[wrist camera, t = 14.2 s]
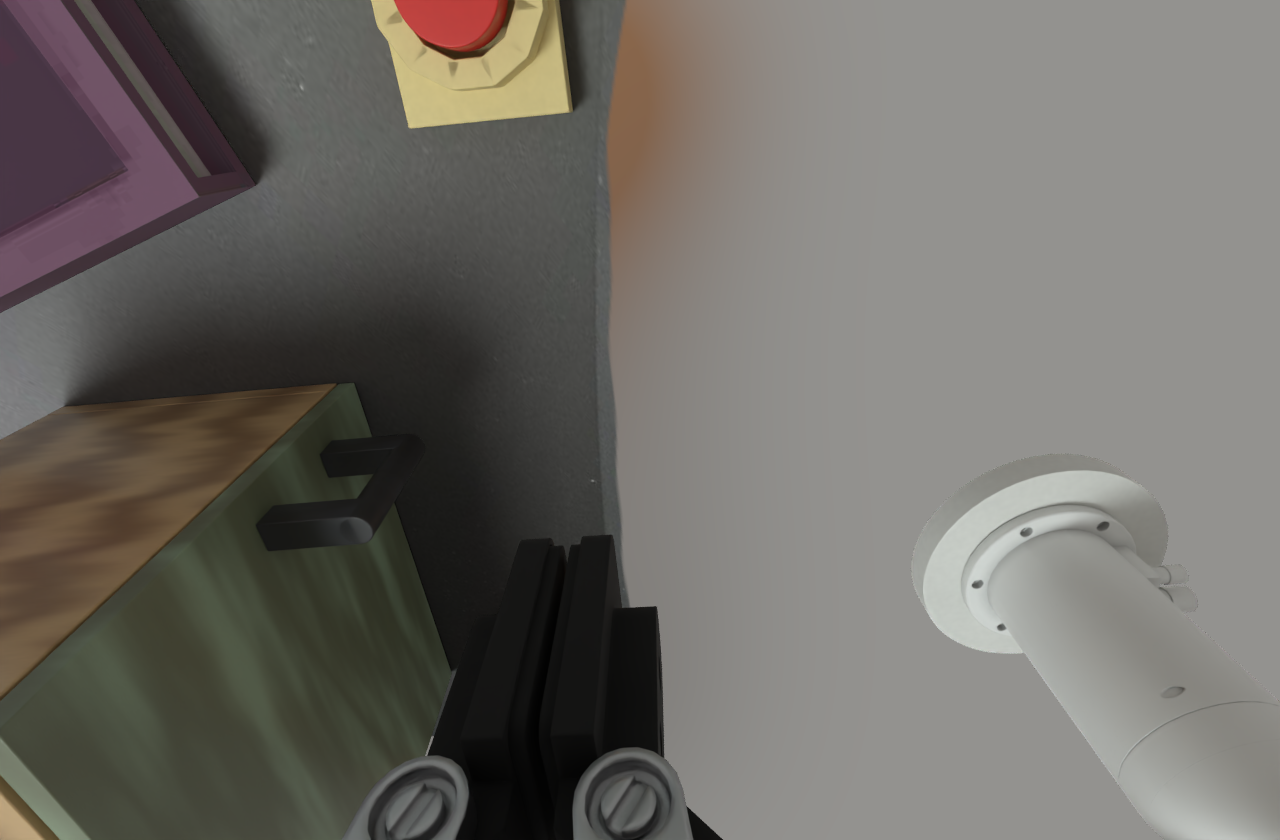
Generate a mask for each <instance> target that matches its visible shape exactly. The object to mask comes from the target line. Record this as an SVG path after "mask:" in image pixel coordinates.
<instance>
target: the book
mask: <svg viewBox="0 0 1280 840" xmlns="http://www.w3.org/2000/svg"><path fill="white" fill-rule="evenodd" d="M254 186H256V185H255V183H254V181H253V180H252V178H251V177H250V175H249V174H248V172H247V171H246V169H245V168H244V166H243V165H242V163H241V162H240V160H239V159H238V157H237V156H236V154H235V153H234V151H233V150H232V148H231V147H230V145H229V144H228V142H227V141H226V139H225V138H224V136H223V135H222V133H221V131H220V130H219V128H218V127H217V125H216V124H215V122H214V121H213V119H212V118H211V116H210V115H209V113H208V112H207V110H206V109H205V107H204V106H203V104H202V103H201V101H200V100H199V98H198V97H197V95H196V94H195V92H194V91H193V89H192V88H191V86H190V85H189V83H188V81H187V80H186V78H185V77H184V75H183V74H182V72H181V71H180V69H179V68H178V66H177V65H176V63H175V62H174V60H173V59H172V57H171V56H170V54H169V53H168V51H167V50H166V48H165V47H164V45H163V44H162V42H161V41H160V39H159V38H158V36H157V35H156V33H155V31H154V30H153V28H152V27H151V25H150V24H149V22H148V21H147V19H146V18H145V16H144V15H143V13H142V12H141V10H140V9H139V7H138V6H137V4H136V3H135V1H134V0H0V313H1V312H3V311H5V310H7V309H9V308H11V307H13V306H15V305H17V304H19V303H21V302H23V301H25V300H27V299H29V298H31V297H33V296H35V295H37V294H39V293H41V292H43V291H45V290H47V289H49V288H51V287H53V286H55V285H57V284H59V283H61V282H63V281H65V280H67V279H69V278H71V277H73V276H75V275H77V274H79V273H81V272H83V271H85V270H87V269H89V268H91V267H93V266H95V265H97V264H99V263H101V262H103V261H105V260H107V259H109V258H111V257H113V256H115V255H117V254H119V253H121V252H123V251H125V250H127V249H129V248H131V247H133V246H135V245H137V244H139V243H141V242H143V241H145V240H147V239H149V238H151V237H153V236H155V235H157V234H159V233H161V232H163V231H165V230H167V229H169V228H171V227H173V226H175V225H177V224H179V223H181V222H183V221H185V220H187V219H189V218H191V217H193V216H195V215H197V214H199V213H201V212H203V211H205V210H207V209H209V208H211V207H213V206H215V205H217V204H219V203H221V202H223V201H226V200H228V199H230V198H232V197H234V196H236V195H238V194H240V193H242V192H244V191H246V190H248V189H250V188H252V187H254Z"/></svg>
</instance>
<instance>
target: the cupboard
mask: <svg viewBox="0 0 1280 840" xmlns="http://www.w3.org/2000/svg"><path fill="white" fill-rule="evenodd" d="M336 386H337V384H336V383H333V384H322V385H310V386H299V387H287V388H275V389H264V390H252V391H241V392H229V393H218V394H206V395H195V396H183V397H171V398H160V399H148V400H137V401H125V402H114V403H102V404H91V405H79V406H67V407H62V408H60V409H58V410H56V411H54V412H52V413H50V414H48V415H47V416H45V417H43V418H41V419H39V420H37V421H35V422H33V423H32V424H30V425H28V426H26V427H24V428H22V429H20V430H18V431H16V432H14V433H12V434H11V435H9V436H7V437H5V438H3V439H1V440H0V701H1V700H2V699H3V698H4V697H5V696H6V695H7V694H8V693H9V692H11V691H12V690H13V689H14V688H15V687H16V686H17V685H18V684H19V683H20V682H21V681H22V680H23V679H24V678H26V677H27V676H28V675H29V674H30V673H31V672H32V671H33V670H34V669H35V668H36V667H37V666H38V665H39V664H40V663H42V662H43V661H44V660H45V659H46V658H47V657H48V656H49V655H50V654H51V653H52V652H53V651H54V650H55V649H56V648H58V647H59V646H60V645H61V644H62V643H63V642H64V641H65V640H66V639H67V638H68V637H69V636H70V635H71V634H72V633H74V632H75V631H76V630H77V629H78V628H79V627H80V626H81V625H82V624H83V623H84V622H85V621H86V620H87V619H89V618H90V617H91V616H92V615H93V614H94V613H95V612H96V611H97V610H98V609H99V608H100V607H101V606H102V605H103V604H105V603H106V602H107V601H108V600H109V599H110V598H111V597H112V596H113V595H114V594H115V593H116V592H117V591H118V590H119V589H121V588H122V587H123V586H124V585H125V584H126V583H127V582H128V581H129V580H130V579H131V578H132V577H133V576H134V575H135V574H137V573H138V572H139V571H140V570H141V569H142V568H143V567H144V566H145V565H146V564H147V563H148V562H149V561H150V560H151V559H153V558H154V557H155V556H156V555H157V554H158V553H159V552H160V551H161V550H162V549H163V548H164V547H165V546H166V545H168V544H169V543H170V542H171V541H172V540H173V539H174V538H175V537H176V536H177V535H178V534H179V533H180V532H181V531H182V530H184V529H185V528H186V527H187V526H188V525H189V524H190V523H191V522H192V521H193V520H194V519H195V518H196V517H197V516H198V515H200V514H201V513H202V512H203V511H204V510H205V509H206V508H207V507H208V506H209V505H210V504H211V503H212V502H213V501H214V500H216V499H217V498H218V497H219V496H220V495H221V494H222V493H223V492H224V491H225V490H226V489H227V488H228V487H229V486H231V485H232V484H233V483H234V482H235V481H236V480H237V479H238V478H239V477H240V476H241V475H242V474H243V473H244V472H245V471H247V470H248V469H249V468H250V467H251V466H252V465H253V464H254V463H255V462H256V461H257V460H258V459H259V458H260V457H261V456H263V455H264V454H265V453H266V452H267V451H268V450H269V449H270V448H271V447H272V446H273V445H274V444H275V443H276V442H277V441H279V440H280V439H281V438H282V437H283V436H284V435H285V434H286V433H287V432H288V431H289V430H290V429H291V428H292V427H294V426H295V425H296V424H297V423H298V422H299V421H300V420H301V419H302V418H303V417H304V416H305V415H306V414H307V413H308V412H310V411H311V410H312V409H313V408H314V407H315V406H316V405H317V404H318V403H319V402H320V401H321V400H322V399H323V398H324V397H326V396H327V395H328V394H329V393H330V392H331V391H332V390H333V389H334V388H335V387H336ZM0 840H60V839H59V838H58V837H57V836H56V835H55V833H54V832H53V831H52V830H51V829H50V828H49V827H48V826H47V825H46V824H45V823H44V822H43V821H42V819H41V818H40V817H39V816H38V815H37V814H36V813H35V812H34V811H33V810H32V809H31V808H30V807H29V805H28V804H27V803H26V802H25V801H24V800H23V799H22V798H21V797H20V796H19V795H18V794H17V793H16V791H15V790H14V789H13V788H12V787H11V786H10V785H9V784H8V783H7V782H6V781H5V780H4V779H3V777H2V776H1V775H0Z"/></svg>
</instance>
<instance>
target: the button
mask: <svg viewBox="0 0 1280 840" xmlns="http://www.w3.org/2000/svg"><path fill="white" fill-rule="evenodd" d="M394 2H395V4H396V7H397V9H398V11H399V13H400V15H401V16H402V18H403V19H404V21H405V22H406V23H407V24H408V26H409V27H410V28H411V29H412V30H413V31H414V32H415V33H416V34H417V35H419V36H420V37H421V38H423V39H424V40H426V41H428V42H429V43H432V44H434V45H436V46H439V47H443V48H446V49H449V50H453V51H459V52H469V51H474V50H477V49H480V48H482V47H484V46H485V45H487V44H488V43H489V42H491V41H492V40H493V39H494V38H495V37H496V35H497V34H498V33H499V31H500V29H501V27H502V25H503V23H504V20H505V18H506V14H507V8H508V0H394Z"/></svg>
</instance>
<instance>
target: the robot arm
mask: <svg viewBox="0 0 1280 840" xmlns="http://www.w3.org/2000/svg"><path fill="white" fill-rule="evenodd" d="M1188 579H1189V575H1188V572H1187V570H1186V569H1185V568H1184V567H1183V566H1182V565H1166V566H1158V567H1151V566H1150V565H1147V564H1146V563H1145V562H1144V561H1143V560H1141V559H1140V558H1139V557H1138V556H1137V555H1136V546H1135V543H1134V541H1133V538H1132V536H1131V534H1130V533H1129V532H1128V531H1127V530H1126V528H1125V527H1124V526H1123V525H1122V524H1121V523H1119V522H1118V521H1117V520H1116V519H1115V518H1113V517H1112V516H1111V515H1109V514H1107V513H1105V512H1103V511H1101V510H1099V509H1095V508H1092V507H1088V506H1081V505H1058V506H1051V507H1046V508H1042V509H1037V510H1034V511H1031V512H1029V513H1026V514H1023V515H1020V516H1018V517H1016V518H1014V519H1013V520H1011V521H1009V522H1007V523H1005V524H1003V525H1002V526H1001V527H999V528H998V529H996V530H995V531H994V532H992V533H991V534H990V535H989V536H988V537H987V538H985V539H984V540H983V541H982V542H981V543H980V544H979V545H978V547H977V548H976V549H975V551H974V552H973V553H972V555H971V556H970V558H969V560H968V562H967V564H966V566H965V568H964V571H963V575H962V579H961V593H962V596H963V600H964V603H965V604H966V606H967V607H968V609H969V611H970V612H971V614H972V615H973V616H974V618H975V619H976V620H977V621H978V622H979V623H980V624H982V625H983V626H984V627H986V628H987V629H989V630H991V631H993V632H996V633H998V634H1003V635H1007V636H1011V637H1013V638H1014V639H1015V641H1016V642H1017V643H1018V645H1019V646H1020V648H1021V649H1022V650H1023V652H1024V653H1025V655H1026V656H1027V657H1028V659H1029V660H1030V662H1031V663H1032V664H1033V666H1034V667H1035V669H1036V670H1037V672H1038V673H1039V674H1040V676H1041V677H1042V679H1043V680H1044V681H1045V683H1046V684H1047V685H1048V687H1049V688H1050V689H1051V691H1052V693H1053V694H1054V695H1055V697H1056V698H1057V700H1058V701H1059V702H1060V704H1061V705H1062V707H1063V708H1064V709H1065V711H1066V712H1067V714H1068V715H1069V716H1070V718H1071V719H1072V721H1073V722H1074V723H1075V725H1076V726H1077V728H1078V729H1079V730H1080V732H1081V733H1082V735H1083V736H1084V737H1085V739H1086V740H1087V742H1088V743H1089V744H1090V746H1091V747H1092V749H1093V750H1094V752H1095V753H1096V754H1097V756H1098V757H1099V759H1100V760H1101V761H1102V763H1103V764H1104V766H1105V767H1106V768H1107V770H1108V771H1109V773H1110V774H1111V775H1112V777H1113V778H1114V780H1115V781H1116V782H1117V784H1118V785H1119V787H1120V788H1121V789H1122V791H1123V792H1124V794H1125V795H1126V797H1127V798H1128V799H1129V801H1130V802H1131V804H1132V805H1133V806H1134V808H1135V809H1136V811H1137V812H1138V813H1139V814H1140V816H1141V817H1142V818H1143V819H1144V820H1145V822H1146V823H1147V824H1148V825H1149V826H1150V827H1151V828H1152V829H1153V830H1154V831H1155V832H1156V833H1157V834H1158V835H1159V836H1160V837H1162V838H1163V839H1164V840H1280V701H1279V700H1278V699H1277V698H1275V697H1274V696H1273V695H1272V694H1271V693H1270V692H1269V691H1268V690H1267V689H1266V688H1265V687H1264V686H1263V685H1261V684H1260V683H1259V682H1258V681H1257V680H1256V679H1255V678H1254V677H1253V676H1252V675H1251V674H1249V673H1248V672H1247V671H1246V670H1245V669H1244V668H1243V667H1242V666H1241V665H1240V664H1239V663H1238V662H1237V661H1235V660H1234V659H1233V658H1232V657H1231V656H1230V655H1229V654H1228V653H1227V652H1226V651H1225V650H1224V649H1222V648H1221V647H1220V646H1219V645H1218V644H1217V643H1216V642H1215V641H1214V640H1213V639H1212V638H1211V637H1209V636H1208V635H1207V634H1206V633H1205V632H1204V631H1203V630H1202V629H1201V628H1200V627H1199V626H1197V625H1196V624H1195V623H1194V622H1193V621H1192V620H1191V619H1190V618H1189V617H1188V616H1187V615H1186V614H1184V613H1183V612H1192V611H1195V610H1196V608H1197V607H1198V600H1197V598H1196V595H1195V594H1194V592H1193V591H1192V590H1191V589H1190V588H1188V587H1187V586H1170V587H1160V584H1164V585H1168V584H1181V583H1186V582H1187V581H1188ZM657 613H658V612H657V607H656V606H654V607H636V608H622V603H621V595H620V587H619V579H618V571H617V563H616V555H615V546H614V539H613V536H612V535H598V536H583V537H582V540H581V545H571V547H570V552H569V558H568V563H567V561H566V555H565V550H564V547H563V546H554V542H553V540H552V539H551V538H546V539H529V540H521V541H520V543H519V546H518V549H517V552H516V555H515V559H514V562H513V565H512V569H511V572H510V575H509V578H508V582H507V585H506V588H505V592H504V595H503V598H502V601H501V605H500V608H499V611H498V615H481V616H478V617H477V618H476V619H475V621H474V624H473V626H472V629H471V631H470V634H469V637H468V640H467V643H466V646H465V649H464V652H463V654H462V657H461V660H460V663H459V666H458V669H457V672H456V675H455V678H454V680H453V683H452V686H451V689H450V692H449V695H448V698H447V701H446V703H445V706H444V709H443V712H442V715H441V718H440V721H439V724H438V727H437V729H436V732H435V735H434V738H433V741H432V744H431V747H430V750H429V752H428V755H427V756H421V757H418V758H415V759H412V760H409V761H406V762H404V763H402V764H401V765H399V766H397V767H396V768H394V769H392V770H391V771H389V772H388V773H387V774H386V775H385V776H384V777H383V778H382V779H380V780H379V781H378V782H377V783H376V784H375V785H374V787H373V788H372V789H371V791H370V792H369V794H368V795H367V796H366V798H365V799H364V801H363V802H362V804H361V806H360V808H359V810H358V811H357V813H356V815H355V817H354V819H353V820H352V822H351V824H350V826H349V827H348V829H347V831H346V833H345V835H344V836H343V838H342V840H723V839H722V838H720V837H719V836H718V835H717V834H716V833H715V832H714V831H713V830H712V829H710V827H709V826H707V825H706V824H705V823H704V822H703V821H702V820H701V819H700V818H699V817H698V816H697V815H696V814H695V813H693V812H692V811H691V810H690V809H689V808H688V807H687V806H686V802H685V798H684V792H683V788H682V785H681V783H680V780H679V777H678V775H677V772H676V771H675V770H674V769H673V767H672V766H671V765H670V764H669V763H668V761H667V760H666V759H664V728H663V690H662V689H663V687H662V664H661V663H662V662H661V646H660V633H659V623H658V614H657Z"/></svg>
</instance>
